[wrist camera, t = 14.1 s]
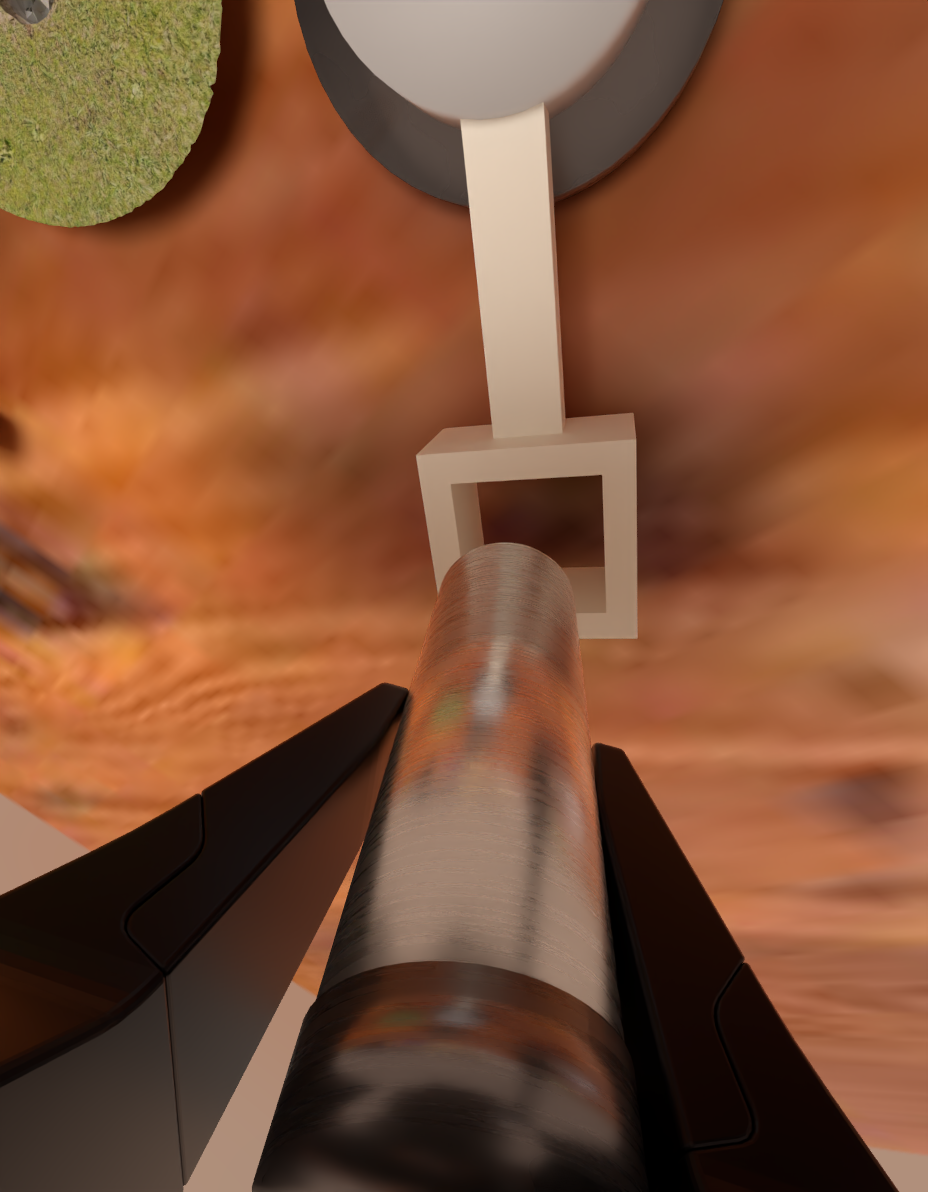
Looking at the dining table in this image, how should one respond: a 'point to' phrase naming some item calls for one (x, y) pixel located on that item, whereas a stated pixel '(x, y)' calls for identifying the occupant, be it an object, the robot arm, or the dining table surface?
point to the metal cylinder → (473, 931)
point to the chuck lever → (513, 258)
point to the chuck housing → (578, 134)
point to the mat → (100, 102)
